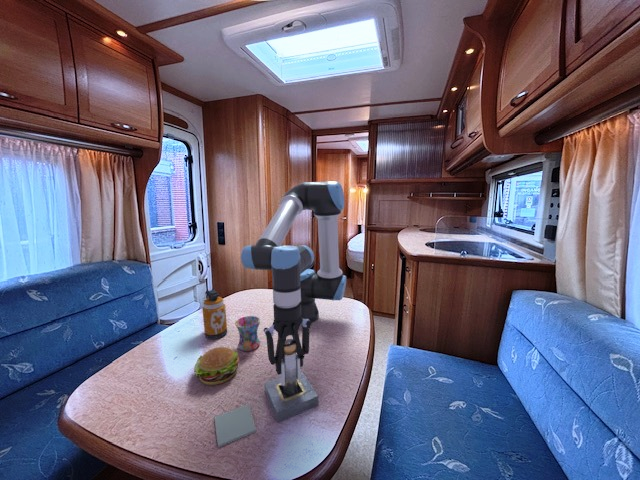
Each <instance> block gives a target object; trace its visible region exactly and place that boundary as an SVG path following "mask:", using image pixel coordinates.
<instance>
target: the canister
mask: <svg viewBox="0 0 640 480" xmlns="http://www.w3.org/2000/svg"><path fill="white" fill-rule="evenodd" d="M204 294H205V297H203V298H202V302H203V303H202V304H203V307H202V308H201V309H202V318H203V329H204V337H205V338H206V339H211V340H212V339H219V338H221V337H223V336H225V335H226V334H227V333H228V324H227V312H226V304H225V303H224V299H223V298H222V296H220V294H219V293H218V291H216V290H215V289H214V288H211V290H209V289H207V290H206V291H205V292H204Z"/></svg>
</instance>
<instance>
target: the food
mask: <svg viewBox="0 0 640 480" xmlns="http://www.w3.org/2000/svg"><path fill="white" fill-rule="evenodd" d="M238 353H239V352H236V351H235V350H233V349H231V348H229V347H226V346H220V347H215V348H212V349H210V350H208V351H206V352H205V353H204V354H203V355H200V356H199V357H198V359H197V360H196V363H195V365H194V371H193V372H194V374H195V375H196V377H197V379H199V380H200V382H201V383H203V384H204V385H210V386H215V385H221V384H222V383H223V384H224V383H226V382H227V381H228V380H230V379H231V378H233V377H234V375H235V374H236V373H237V371H238V369H239V363H240V357H239V356H238V355H239V354H238Z"/></svg>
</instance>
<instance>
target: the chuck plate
mask: <svg viewBox="0 0 640 480" xmlns="http://www.w3.org/2000/svg"><path fill="white" fill-rule="evenodd" d="M300 379H301V380H298V379H297V394H296V395H294V396H291V397H288V398H285V397H284V392H283V386H282V384H281V382H280V380H279V378H276V379H273V380H271V381H267V382H265V383H264V393H265V395H266V397H267V401H268V402H269V406H270V408H271V410H272V413H273V415H274V418H275V421H276V423H280V422H283V421H285V420H288V419H291V418H293V417H294V416H297V415H299V414H301V413H304V412H306V411H309V410H311V409H313V408H315V407H318V406H319V395H318V393H317V392H316V390H315V389H314V387H313V385H312V384H311V382H310V381H309V380H308V378H307V377H306V375H305V374H304V372H303V371H302V370H300Z"/></svg>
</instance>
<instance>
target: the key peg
mask: <svg viewBox="0 0 640 480" xmlns="http://www.w3.org/2000/svg"><path fill="white" fill-rule="evenodd" d="M296 354H297V353H296V342H295V341H294V340H293V338H286V341H285V345H284V351H283V357H282V361H283V363H284V369H285V385H284V386H283V392H284V394H283V397H284V399H286V398H288V397H291V396H294V395H296V394H298V391H297V362H296Z"/></svg>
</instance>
